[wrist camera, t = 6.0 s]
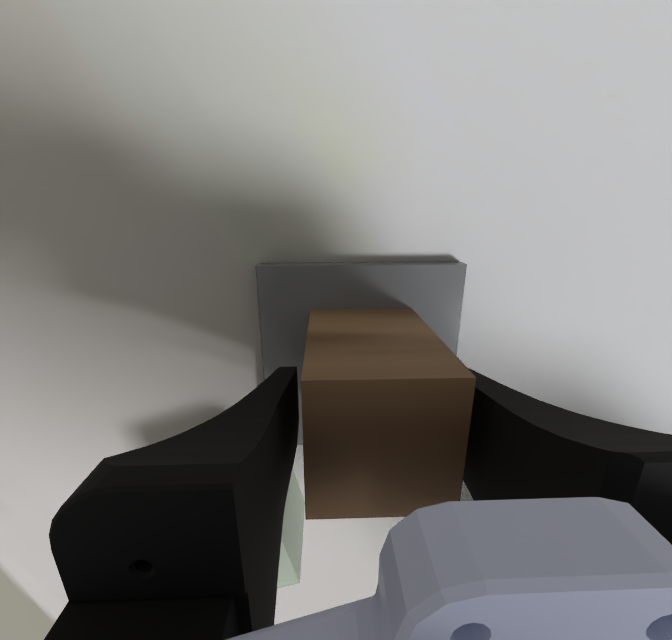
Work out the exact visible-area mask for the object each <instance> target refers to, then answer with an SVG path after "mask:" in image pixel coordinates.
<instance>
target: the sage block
mask: <svg viewBox="0 0 672 640" xmlns="http://www.w3.org/2000/svg"><path fill="white" fill-rule="evenodd" d="M304 510H305V501H304V498H303V495H302V493H301V490H300V487H299V485H298V482H297V479H296V476H295V474H294V471H293V468H292V473H291V478H290V483H289V488H288V493H287V498H286V503H285V510H284V517H283V527H282V538H281V548H280V559H279V570H278V581H277V588H280V587H285V586H289V585H294V584H298V583H300V571H301V555H302V540H303V525H304Z"/></svg>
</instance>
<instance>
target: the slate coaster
mask: <svg viewBox="0 0 672 640" xmlns="http://www.w3.org/2000/svg"><path fill="white" fill-rule="evenodd" d="M466 266H467V264H465V263H462V262H393V263H271V264H258V265H256V275H257V289H258V302H259V315H260V329H261V342H262V355H263V369H264V380H266V379H267V378H268V377H269V376H270V375H271V374H272V373H273V372H274V371H275V370H276V369H277V368H279V367H292V366H297V377H298V401H299V429H298V442H297V445H300V444H303V425H302V396H301V377H302V369H303V362H304V354H305V347H306V339H307V332H308V324H309V317H310V310H311V309H377V308H412V309H413V310H414V311H415V312H416V313H417V314H418V315H419V316H420V317H421V319H422V320H423V321H424V322H425V323H426V324H427V325H428V326H429V327H430V328H431V329H432V330H433V331H434V333H435V334H436V335H437V336H438V337H439V338H440V339H441V340H442V341H443V342H444V343H445V344H446V346H447V347H448V348H449V349H450V350H451V351H452V352H453V353H454V354H455V355H456V354H457V345H458V336H459V327H460V319H461V310H462V301H463V292H464V284H465V275H466Z"/></svg>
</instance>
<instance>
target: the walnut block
mask: <svg viewBox="0 0 672 640" xmlns="http://www.w3.org/2000/svg"><path fill="white" fill-rule="evenodd" d="M475 384H476V377H475V376H474V375H473V374H472V372H471V371H470V370H469V369H468V368H467V367H466V366H465V365H464V364H463V363H462V362H461V361H460V360H459V358H458V357H457V356H456V355H455V354H454V353H453V352H452V351H451V350H450V349H449V348H448V347H447V346H446V344H445V343H444V342H443V341H442V340H441V339H440V338H439V337H438V336H437V335H436V334H435V333H434V331H433V330H432V329H431V328H430V327H429V326H428V325H427V324H426V323H425V322H424V321H423V320H422V319H421V317H420V316H419V315H418V314H417V313H416V312H415V311H414V310H413V309H412V308H377V309H311V310H310V317H309V324H308V332H307V339H306V347H305V354H304V362H303V369H302V377H301V396H302V425H303V455H304V484H305V513H306V519H340V518H373V517H406V516H408V515H410V514H411V513H412V512H413V511H415V510H416V509H418V508H422V507H427V506H431V505H435V504H439V503H443V502H447V501H460V495H461V488H462V481H463V473H464V466H465V458H466V451H467V443H468V436H469V428H470V421H471V414H472V406H473V399H474V391H475Z"/></svg>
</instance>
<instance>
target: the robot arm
mask: <svg viewBox="0 0 672 640" xmlns="http://www.w3.org/2000/svg"><path fill="white" fill-rule="evenodd" d="M468 369H469V368H468ZM469 370H470V371H471V372H472V374H473V375H474V376H475V377H476V384H475V391H474V399H473V406H472V414H471V421H470V428H469V436H468V443H467V451H466V458H465V466H464V473H463V480H464V482H465V484H466V486H467V488H468V490H469V492H470V493H471V495H472V498H473V500H474V501H447V502H443V503H439V504H435V505H431V506H427V507H422V508H418V509H416V510H415V511H413V512H412V513H411V514H410V515H408V516H407V517H406V518H404V519H403V520H402V521H400V522H399V523H398V524H397V525H395V526H394V527H393V528H391V529H390V531H389V533H388V535H387V538H386V540H385V543H384V545H383V548H382V550H381V553H380V557H379V577H378V585H377V590H376V594H375V595H374V596H372V597H368V598H365V599H361V600H358V601H355V602H351V603H348V604H344V605H341V606H338V607H334V608H331V609H327V610H324V611H321V612H317V613H314V614H310V615H307V616H304V617H300V618H297V619H293V620H290V621H287V622H283V623H280V624H276V625H274V617H275V605H276V593H277V581H278V570H279V559H280V548H281V538H282V527H283V517H284V510H285V503H286V498H287V493H288V488H289V483H290V478H291V473H292V468H293V463H294V458H295V453H296V448H297V442H298V429H299V401H298V377H297V366H292V367H279V368H277V369H276V370H275V371H274V372H273V373H272V374H271V375H270V376H269V377H268V378H267V379H266V380H264V381H263V382H262V383H261V384H260V385H259V386H258V387H257V388H255V389H254V390H253V391H252V392H250V393H249V394H248V395H247V396H245V397H244V398H243V399H241V400H240V401H239V402H238V403H236V404H235V405H233V406H232V407H230V408H229V409H227V410H226V411H224V412H222V413H221V414H219V415H217V416H216V417H214V418H212V419H210V420H208V421H206V422H204V423H202V424H200V425H198V426H196V427H194V428H192V429H190V430H188V431H185V432H183V433H181V434H178V435H176V436H173V437H171V438H168V439H166V440H163V441H160V442H157V443H155V444H152V445H149V446H146V447H142V448H139V449H135V450H132V451H129V452H125V453H122V454H118V455H115V456H111V457H107V458H104V459H103V460H102V461H101V462H100V463H99V464H98V465H97V467H96V468H95V469H94V470H93V471H92V472H91V473H90V474H89V476H88V477H87V478H86V479H85V480H84V481H83V482H82V484H81V485H80V486H79V487H78V488H77V489H76V490H75V491H74V493H73V494H72V495H71V496H70V497H69V498H68V499H67V501H66V502H65V503H64V504H63V505H62V506H61V507H60V509H59V510H58V512H57V513H56V515H55V516H54V518H53V519H52V523H51V528H50V532H49V538H50V544H51V550H52V554H53V556H54V559H55V562H56V565H57V568H58V571H59V574H60V577H61V580H62V582H63V585H64V588H65V591H66V594H67V597H68V600H69V602H68V603H67V605H66V607H65V608H64V610H63V611H62V613H61V614H60V616H59V617H58V619H57V620H56V622H55V623H54V625H53V627H52V628H51V630H50V631H49V633H48V634H47V636H46V637H45V639H44V640H672V435H670V434H664V433H658V432H653V431H648V430H643V429H638V428H633V427H628V426H624V425H620V424H616V423H611V422H607V421H603V420H600V419H596V418H592V417H589V416H585V415H581V414H578V413H575V412H571V411H568V410H565V409H562V408H559V407H556V406H554V405H551V404H548V403H545V402H542V401H540V400H537V399H535V398H532V397H530V396H527V395H525V394H523V393H520V392H518V391H515V390H513V389H511V388H509V387H507V386H505V385H502V384H500V383H498V382H496V381H494V380H492V379H490V378H488V377H486V376H484V375H482V374H479V373H477V372H475V371H473V370H471V369H469Z"/></svg>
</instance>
